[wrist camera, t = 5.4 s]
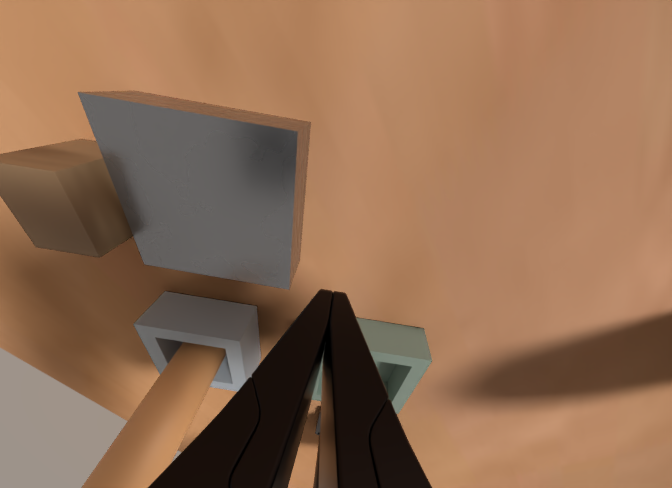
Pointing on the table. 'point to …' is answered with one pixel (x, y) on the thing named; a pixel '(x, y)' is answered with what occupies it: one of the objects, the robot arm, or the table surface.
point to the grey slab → (206, 183)
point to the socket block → (203, 333)
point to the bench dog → (64, 197)
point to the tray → (393, 358)
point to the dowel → (159, 421)
